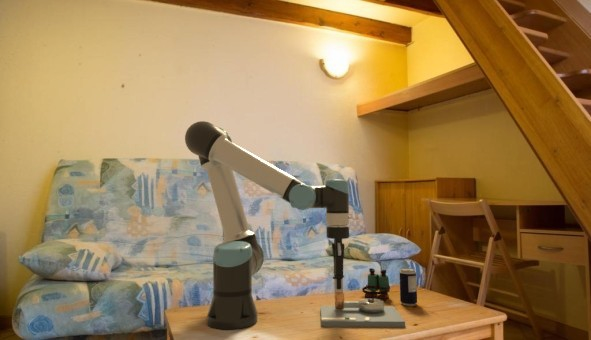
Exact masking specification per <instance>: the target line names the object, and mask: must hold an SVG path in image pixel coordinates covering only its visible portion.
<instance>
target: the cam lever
mask: <svg viewBox="0 0 591 340" xmlns="http://www.w3.org/2000/svg"><path fill="white" fill-rule="evenodd" d="M334 306H335V309H344V308H358V309H359V310H360V311H362V312H366V313H380V312H383V311H384V306H385V302H384V301H382V300H379V299H377V298H374V299H372V298H367V299H365V298H361V299H359V300H355V301H351V300H345V293H344V292H343V293H342V292H336V293H335V298H334Z"/></svg>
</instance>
